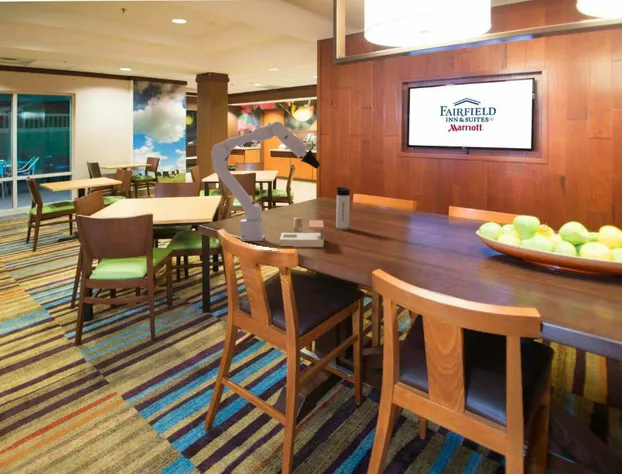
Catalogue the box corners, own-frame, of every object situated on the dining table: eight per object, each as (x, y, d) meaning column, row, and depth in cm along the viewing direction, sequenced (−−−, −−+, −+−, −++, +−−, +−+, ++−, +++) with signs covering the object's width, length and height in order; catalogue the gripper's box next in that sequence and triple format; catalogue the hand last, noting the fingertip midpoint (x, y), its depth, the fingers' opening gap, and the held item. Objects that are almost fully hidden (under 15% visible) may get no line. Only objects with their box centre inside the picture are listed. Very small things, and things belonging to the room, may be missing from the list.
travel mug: (340, 226, 213) (341, 186, 208) (351, 228, 209) (352, 187, 204) (332, 228, 209) (333, 187, 204) (344, 230, 205) (345, 189, 200)
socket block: (279, 246, 176) (279, 226, 173) (281, 239, 188) (281, 220, 186) (323, 247, 175) (323, 226, 173) (322, 239, 188) (322, 220, 186)
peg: (293, 236, 192) (293, 219, 191) (294, 234, 196) (293, 217, 194) (302, 236, 192) (302, 219, 191) (302, 234, 196) (302, 217, 194)
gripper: (300, 137, 170) (325, 160, 172) (300, 136, 184) (324, 157, 186) (288, 150, 171) (313, 173, 174) (290, 148, 185) (313, 170, 188)
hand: (318, 166), depth 180 cm, fingers open, 7 cm apart
